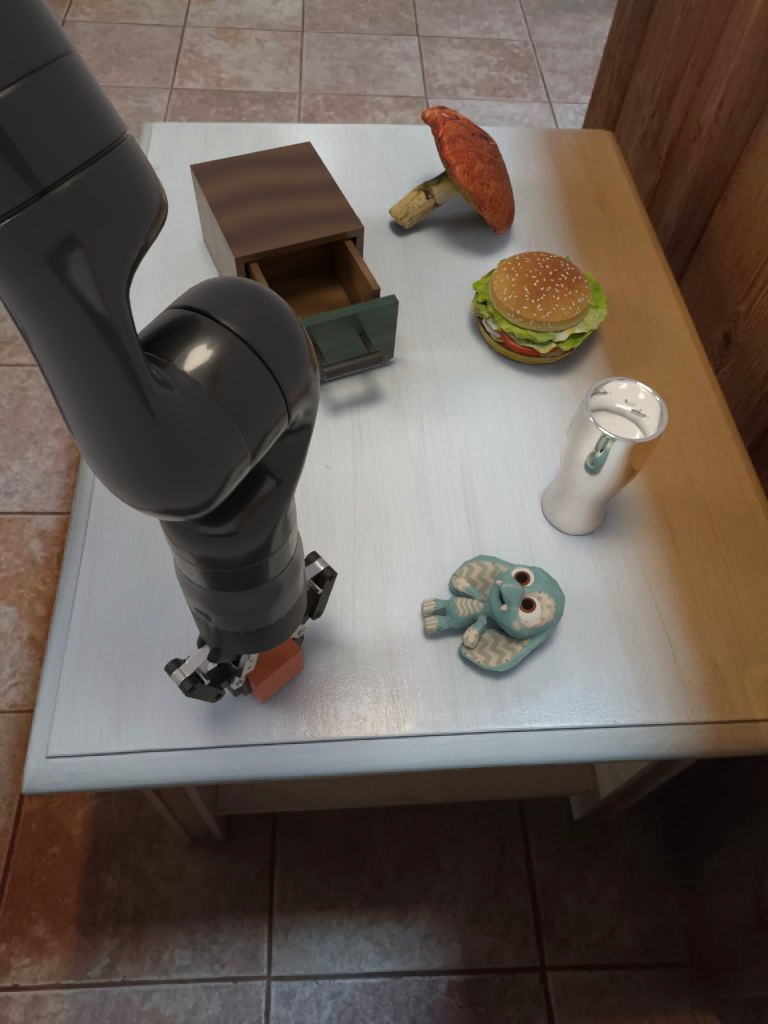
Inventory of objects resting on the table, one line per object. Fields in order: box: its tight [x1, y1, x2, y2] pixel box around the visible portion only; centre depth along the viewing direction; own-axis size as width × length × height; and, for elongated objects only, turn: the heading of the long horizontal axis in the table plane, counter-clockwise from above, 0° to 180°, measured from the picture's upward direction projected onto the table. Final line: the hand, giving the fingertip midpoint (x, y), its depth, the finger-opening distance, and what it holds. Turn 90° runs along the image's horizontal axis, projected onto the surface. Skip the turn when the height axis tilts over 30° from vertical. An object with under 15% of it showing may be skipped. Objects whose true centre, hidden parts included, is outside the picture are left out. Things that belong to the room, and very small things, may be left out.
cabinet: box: [189, 140, 365, 278], centre depth 80 cm, size 16×14×10 cm
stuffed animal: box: [420, 554, 566, 673], centre depth 60 cm, size 11×7×12 cm
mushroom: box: [388, 104, 516, 236], centre depth 86 cm, size 16×15×15 cm
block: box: [247, 637, 305, 705], centre depth 57 cm, size 4×4×4 cm
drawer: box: [244, 238, 400, 382], centre depth 74 cm, size 19×13×8 cm
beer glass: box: [541, 376, 669, 536], centre depth 63 cm, size 7×7×15 cm
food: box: [470, 250, 609, 365], centre depth 78 cm, size 14×14×8 cm
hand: (265, 665), depth 59 cm, fingers closed on block, 4 cm apart
